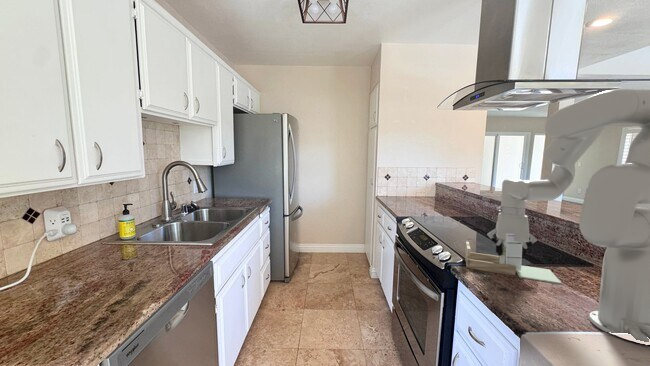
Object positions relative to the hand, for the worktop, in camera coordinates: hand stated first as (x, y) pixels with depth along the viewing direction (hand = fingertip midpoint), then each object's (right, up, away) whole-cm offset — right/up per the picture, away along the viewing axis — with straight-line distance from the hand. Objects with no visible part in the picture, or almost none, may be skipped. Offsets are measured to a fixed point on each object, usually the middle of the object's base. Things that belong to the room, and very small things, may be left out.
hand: (510, 255), depth 99 cm
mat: (+7, -6, -3) cm, 10 cm away
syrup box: (0, -5, 0) cm, 5 cm away
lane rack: (-6, -6, +4) cm, 9 cm away
